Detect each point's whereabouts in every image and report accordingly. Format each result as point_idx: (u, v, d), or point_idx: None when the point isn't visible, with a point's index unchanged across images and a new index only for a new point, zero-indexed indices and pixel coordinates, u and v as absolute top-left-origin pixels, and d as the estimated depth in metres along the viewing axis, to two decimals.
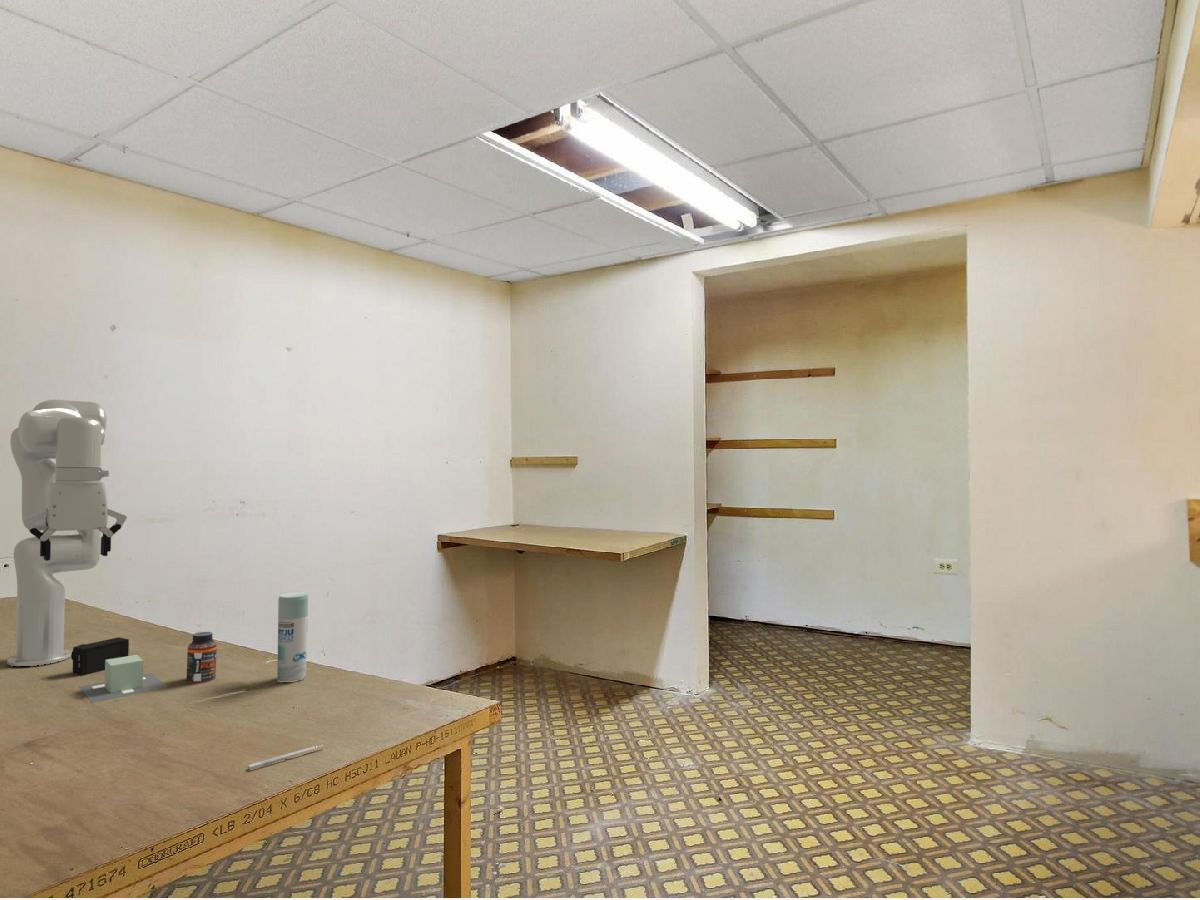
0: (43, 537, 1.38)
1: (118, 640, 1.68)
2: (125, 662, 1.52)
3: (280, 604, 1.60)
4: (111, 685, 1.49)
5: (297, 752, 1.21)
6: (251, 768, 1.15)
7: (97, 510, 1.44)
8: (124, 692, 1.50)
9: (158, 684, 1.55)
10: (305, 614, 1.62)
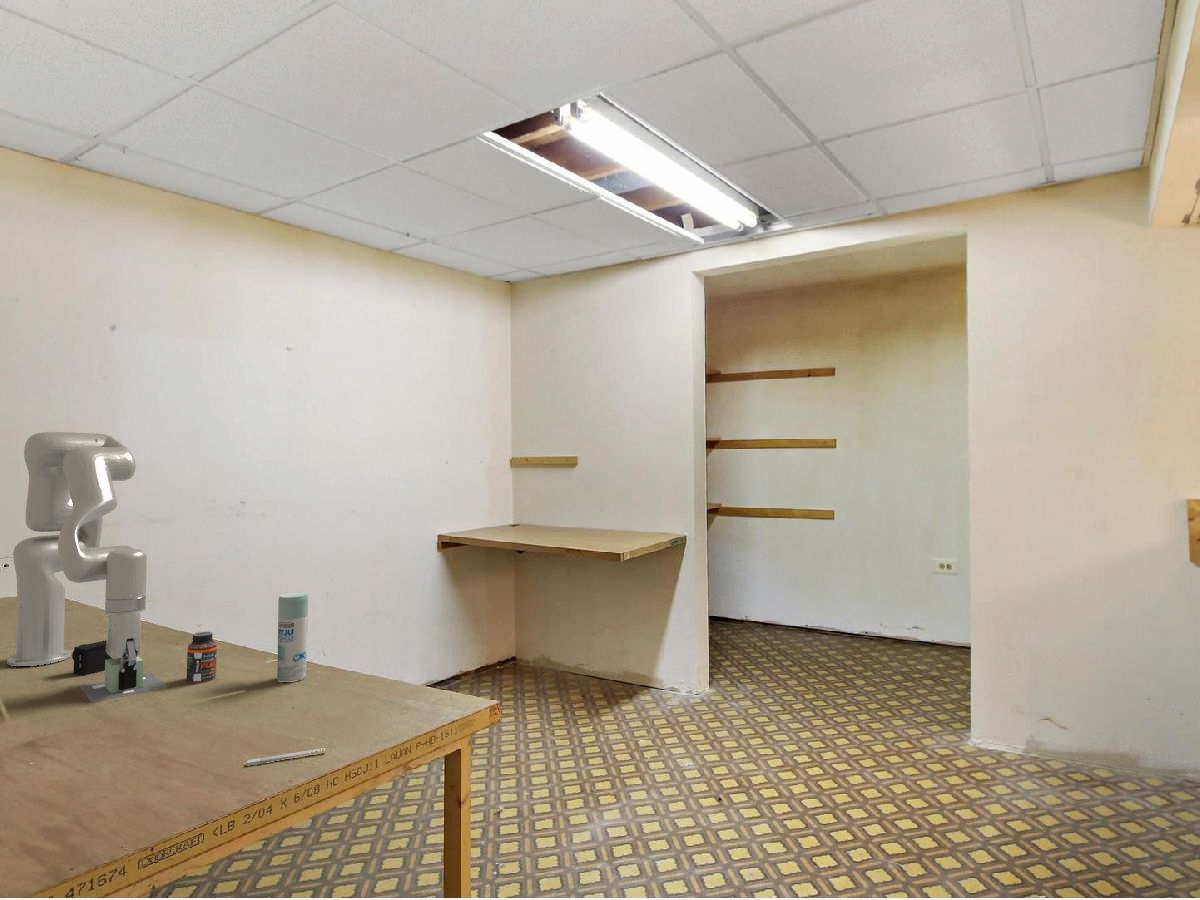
0: (135, 666, 1.51)
1: None
2: None
3: (280, 604, 1.60)
4: (111, 685, 1.49)
5: (297, 753, 1.20)
6: (248, 764, 1.16)
7: None
8: (124, 692, 1.50)
9: (158, 684, 1.55)
10: (304, 614, 1.62)
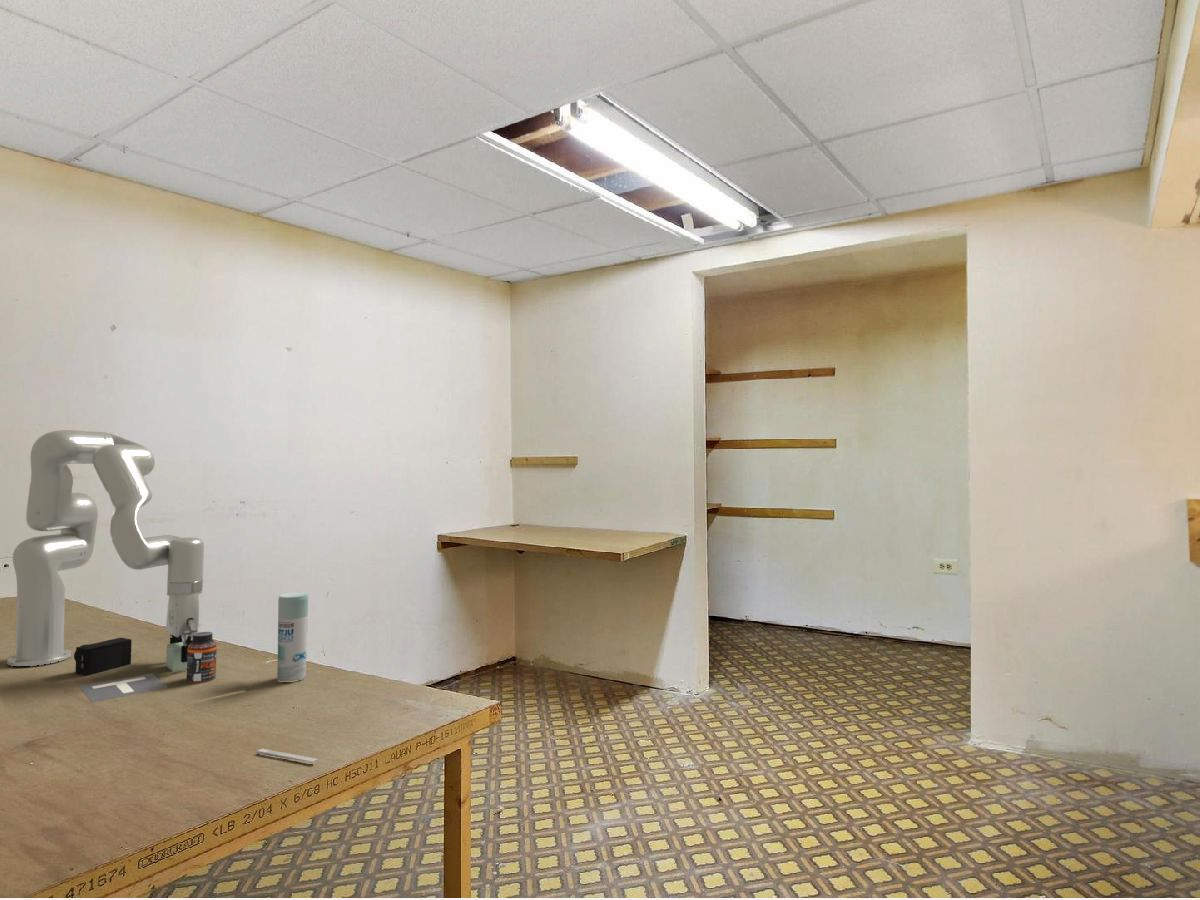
0: None
1: (121, 640, 1.68)
2: None
3: (280, 604, 1.60)
4: (173, 667, 1.65)
5: (294, 756, 1.19)
6: (257, 752, 1.21)
7: None
8: (124, 692, 1.50)
9: (158, 684, 1.55)
10: (304, 614, 1.62)
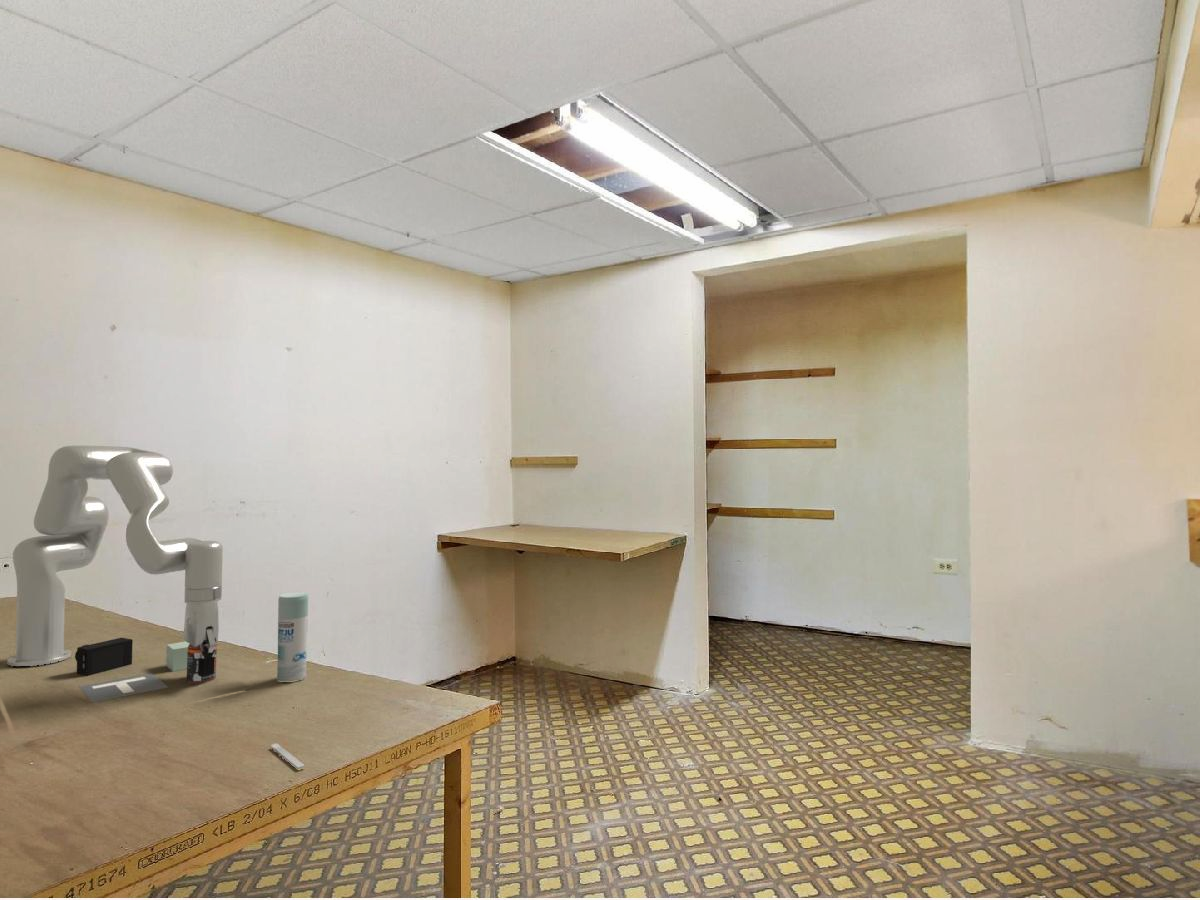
0: (213, 653, 1.57)
1: (122, 640, 1.68)
2: (185, 646, 1.67)
3: (280, 604, 1.60)
4: (173, 667, 1.65)
5: (290, 758, 1.18)
6: None
7: None
8: (124, 692, 1.50)
9: (158, 684, 1.55)
10: (304, 614, 1.62)
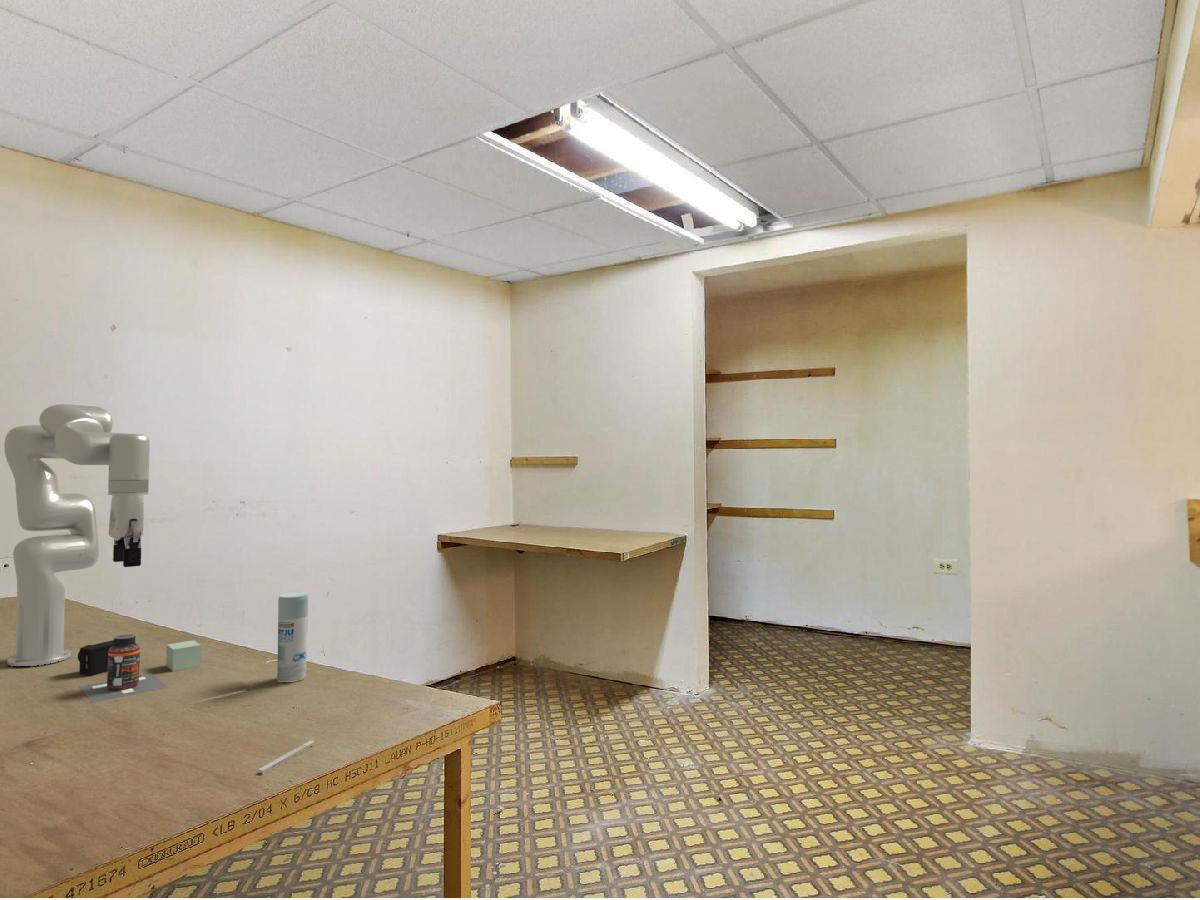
0: None
1: None
2: (185, 646, 1.67)
3: (280, 604, 1.60)
4: (173, 667, 1.65)
5: (280, 758, 1.18)
6: None
7: None
8: (124, 692, 1.50)
9: (158, 684, 1.55)
10: (304, 614, 1.62)
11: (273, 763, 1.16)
